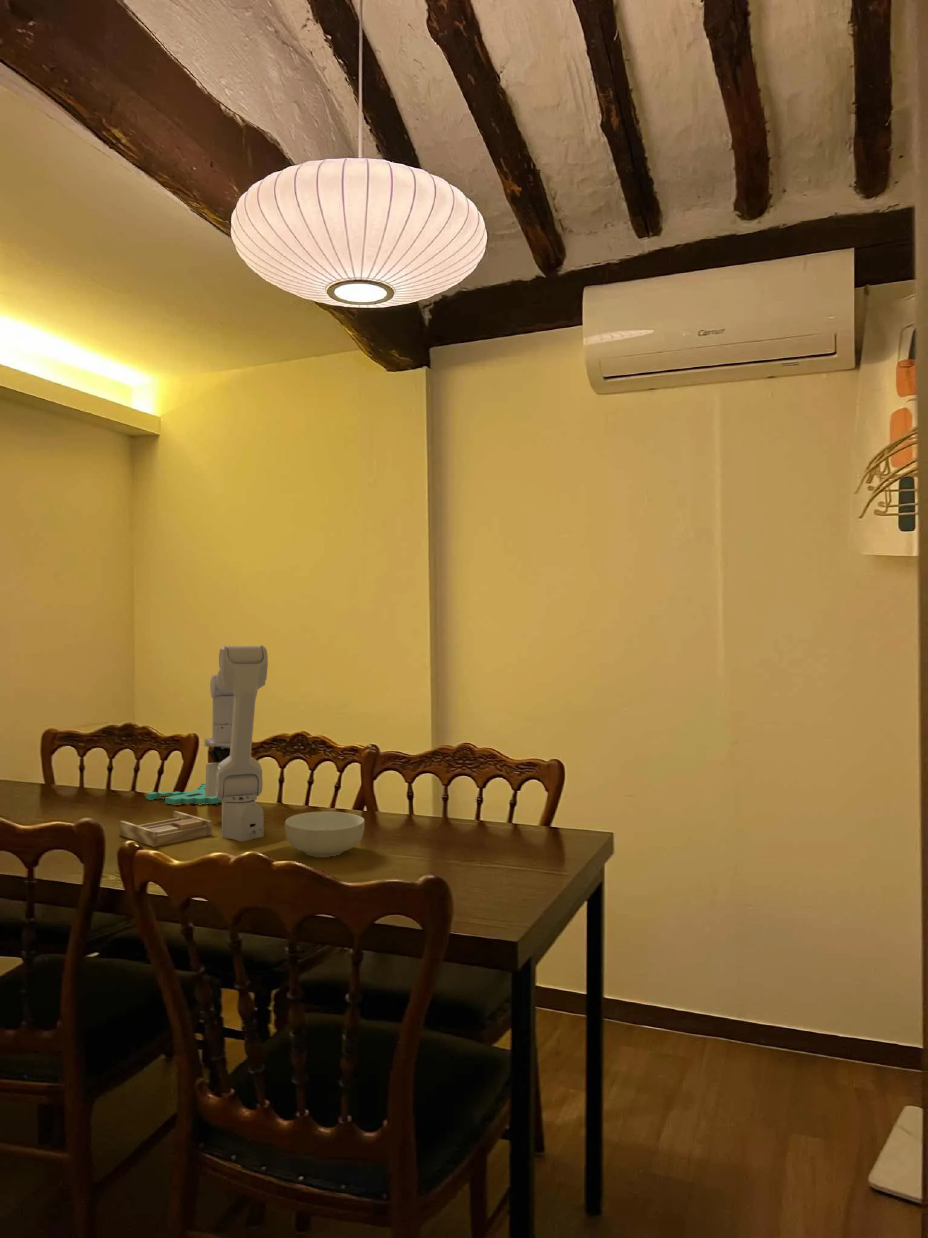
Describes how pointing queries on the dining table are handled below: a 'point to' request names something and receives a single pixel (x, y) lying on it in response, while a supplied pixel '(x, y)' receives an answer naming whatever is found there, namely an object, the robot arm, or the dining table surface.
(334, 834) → the cereal bowl
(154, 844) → the rack
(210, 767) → the sheet
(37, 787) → the dining table surface
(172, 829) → the ash offcut
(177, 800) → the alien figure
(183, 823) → the oak offcut
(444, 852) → the dining table surface
